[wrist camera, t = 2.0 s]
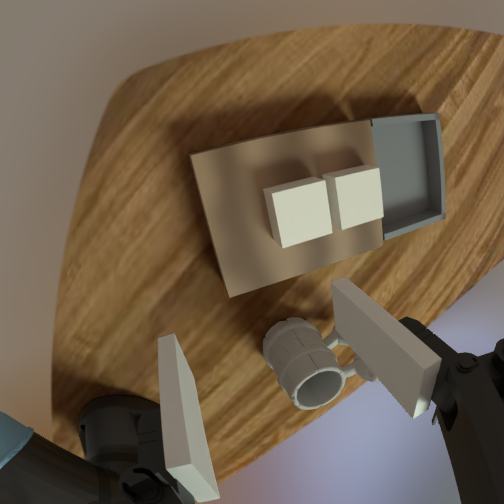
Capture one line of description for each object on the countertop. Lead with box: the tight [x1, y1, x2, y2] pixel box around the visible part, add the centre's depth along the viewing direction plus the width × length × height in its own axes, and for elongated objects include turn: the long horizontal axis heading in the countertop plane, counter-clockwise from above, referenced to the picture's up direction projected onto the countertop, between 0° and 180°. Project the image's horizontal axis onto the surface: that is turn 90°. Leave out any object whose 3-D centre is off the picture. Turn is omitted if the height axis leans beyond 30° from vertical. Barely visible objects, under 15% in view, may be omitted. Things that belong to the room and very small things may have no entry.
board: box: [188, 120, 383, 298], centre depth 32 cm, size 18×14×4 cm
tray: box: [357, 113, 445, 240], centre depth 35 cm, size 11×14×3 cm
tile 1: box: [322, 165, 384, 230], centre depth 30 cm, size 5×5×2 cm
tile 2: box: [263, 177, 333, 248], centre depth 29 cm, size 5×5×2 cm
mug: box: [263, 317, 379, 410], centre depth 35 cm, size 8×12×12 cm, turn 104°
